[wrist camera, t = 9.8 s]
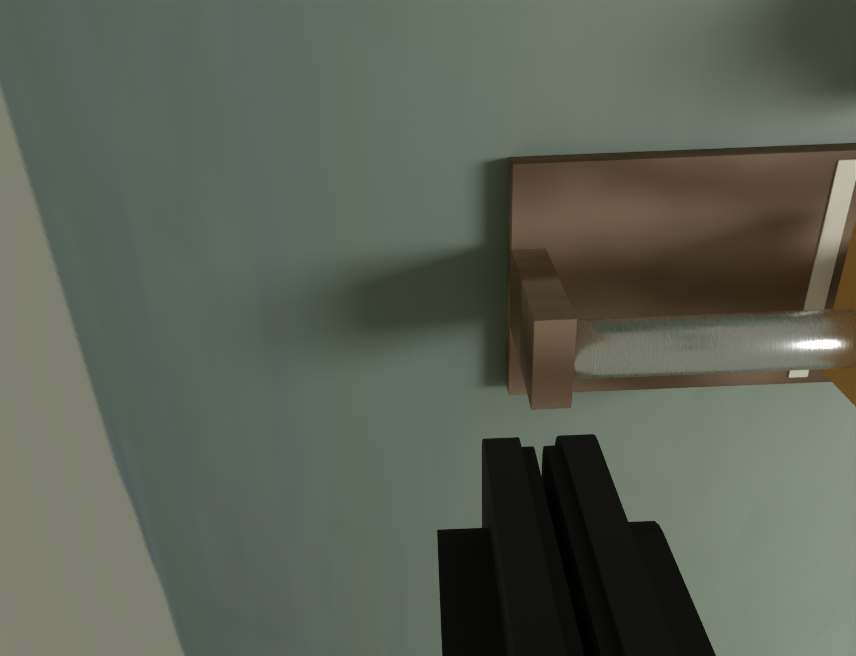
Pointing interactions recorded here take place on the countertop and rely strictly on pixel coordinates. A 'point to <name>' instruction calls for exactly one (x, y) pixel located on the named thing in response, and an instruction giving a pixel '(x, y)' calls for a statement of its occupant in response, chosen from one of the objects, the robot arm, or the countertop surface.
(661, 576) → the robot arm
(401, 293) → the countertop surface
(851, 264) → the collar
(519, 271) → the pipe stand
